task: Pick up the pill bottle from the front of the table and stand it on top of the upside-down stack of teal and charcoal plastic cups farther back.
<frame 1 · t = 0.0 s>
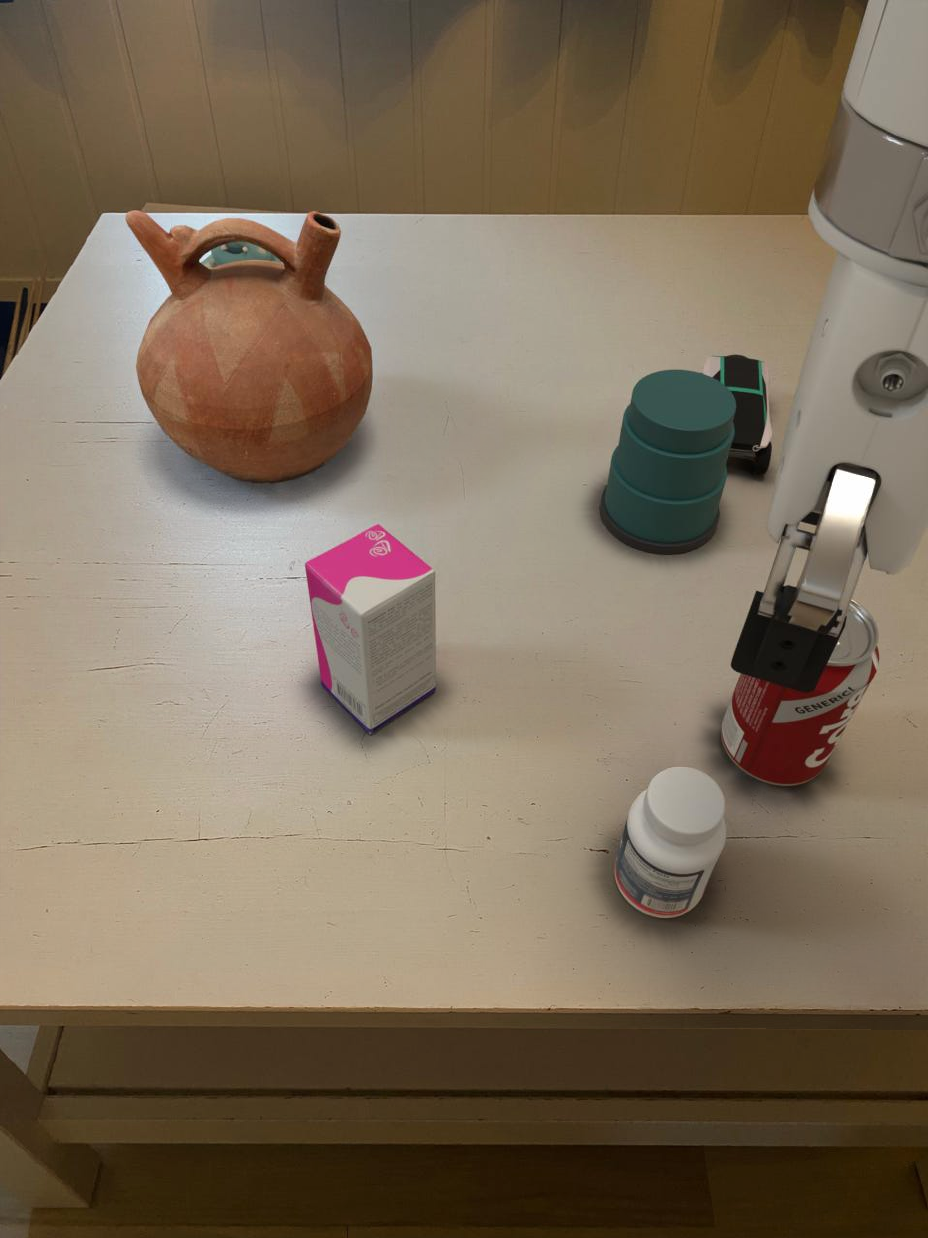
hand: (792, 592, 39), 22 cm above the table, tool pointing down, fingers open, 9 cm apart
toy car: (727, 435, 83), on the table
pill bottle: (657, 878, 55), on the table
soda can: (770, 748, 61), on the table
supplement box: (378, 688, 64), on the table
stuffed animal: (241, 296, 97), on the table
cup stack: (658, 513, 76), on the table
jug: (270, 445, 81), on the table
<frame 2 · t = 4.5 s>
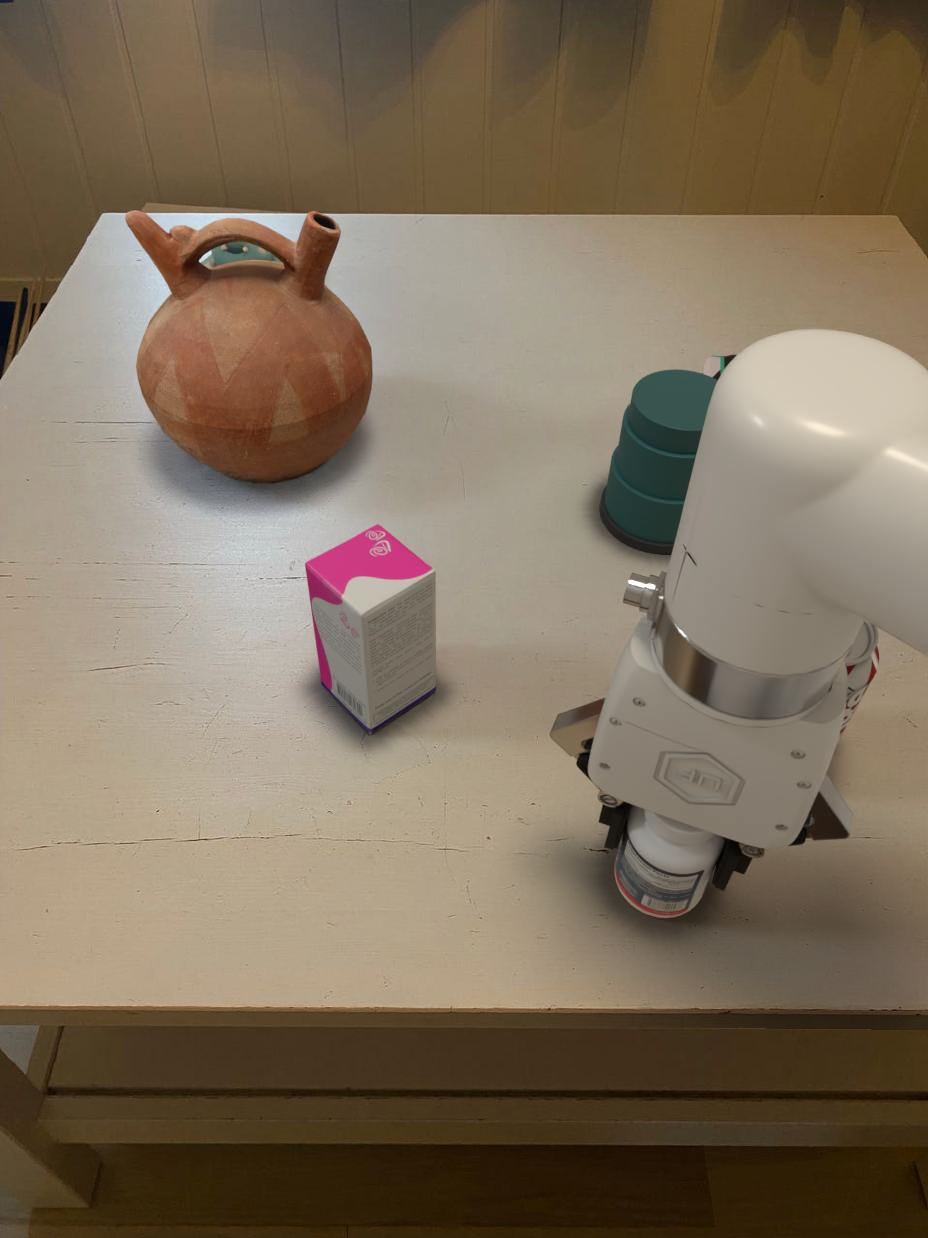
hand: (670, 845, 52), 4 cm above the table, tool pointing down, fingers closed on pill bottle, 5 cm apart
pill bottle: (657, 878, 55), on the table, touching gripper
everything else where it was.
when the fingers open (15 cm above the table, at t = 12.3 s): pill bottle stays where it is, resting on cup stack.
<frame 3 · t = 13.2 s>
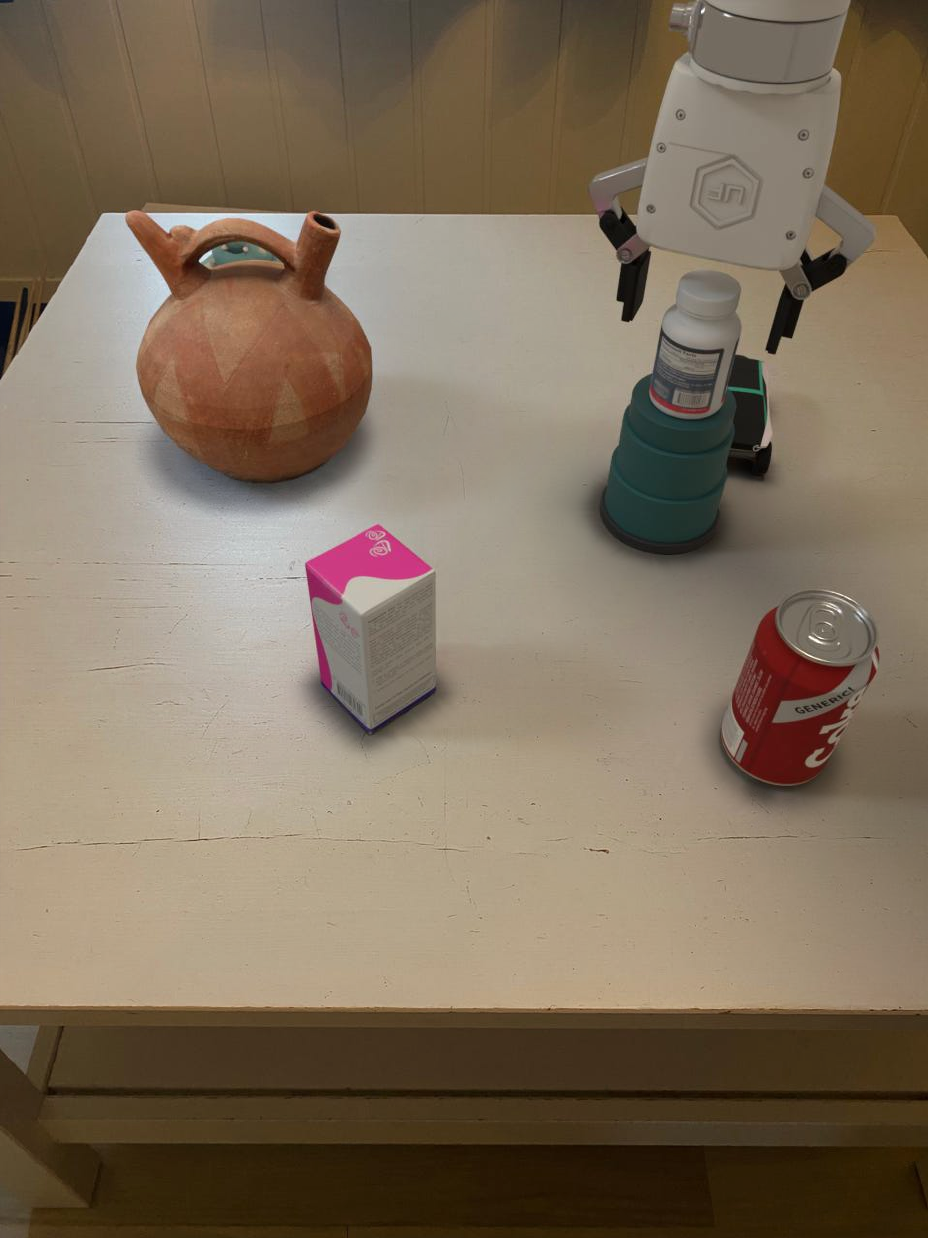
hand: (701, 327, 63), 17 cm above the table, tool pointing down, fingers open, 9 cm apart
pill bottle: (684, 401, 68), point 11 cm above the table, touching cup stack
everything else where it was.
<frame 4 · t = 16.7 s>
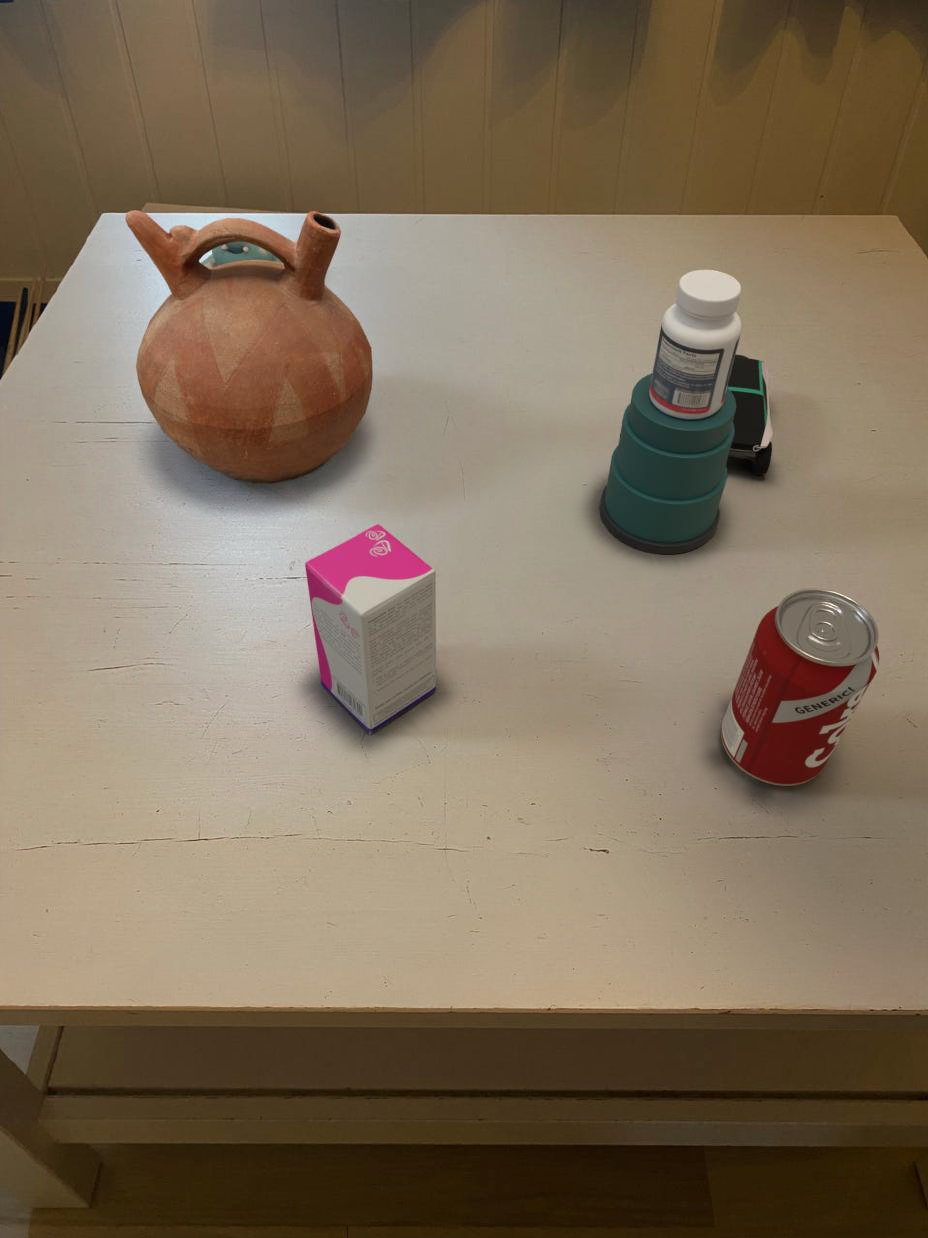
nothing on the table moved.
at the end: pill bottle 0.1 cm off-centre on the cup stack, point 10.8 cm above the cup stack's base; pill bottle tilted 0°; the gripper is holding nothing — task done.
